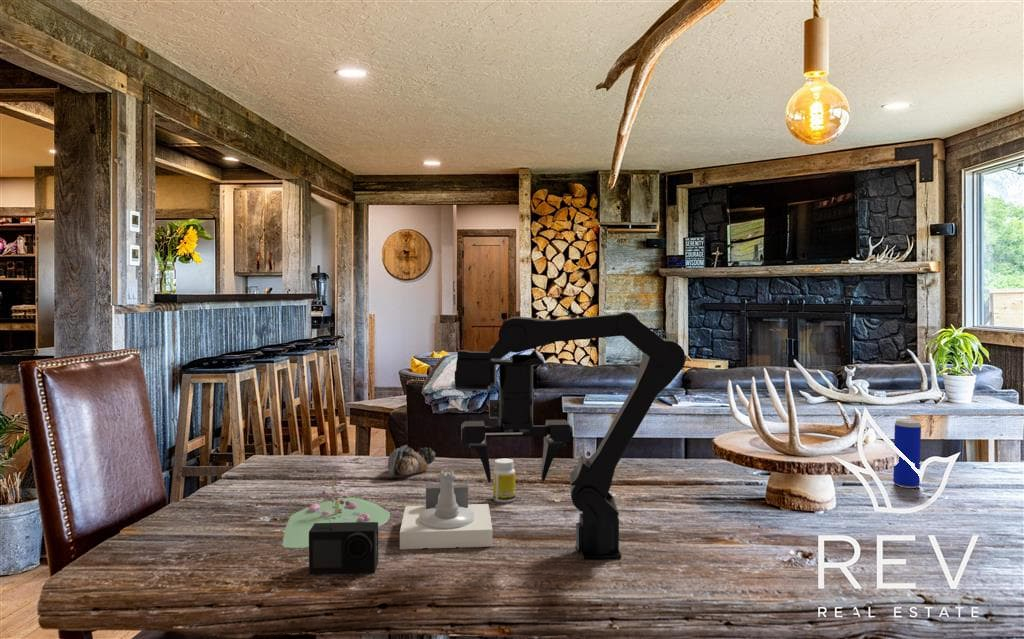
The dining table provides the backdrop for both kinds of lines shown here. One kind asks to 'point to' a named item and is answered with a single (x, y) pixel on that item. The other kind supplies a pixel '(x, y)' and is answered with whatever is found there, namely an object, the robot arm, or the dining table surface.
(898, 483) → the beverage can
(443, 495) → the rook chess piece
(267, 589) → the dining table surface
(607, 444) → the robot arm
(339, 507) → the plant
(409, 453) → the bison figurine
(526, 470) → the dining table surface
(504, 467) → the supplement bottle
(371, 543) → the digital camera
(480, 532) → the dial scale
